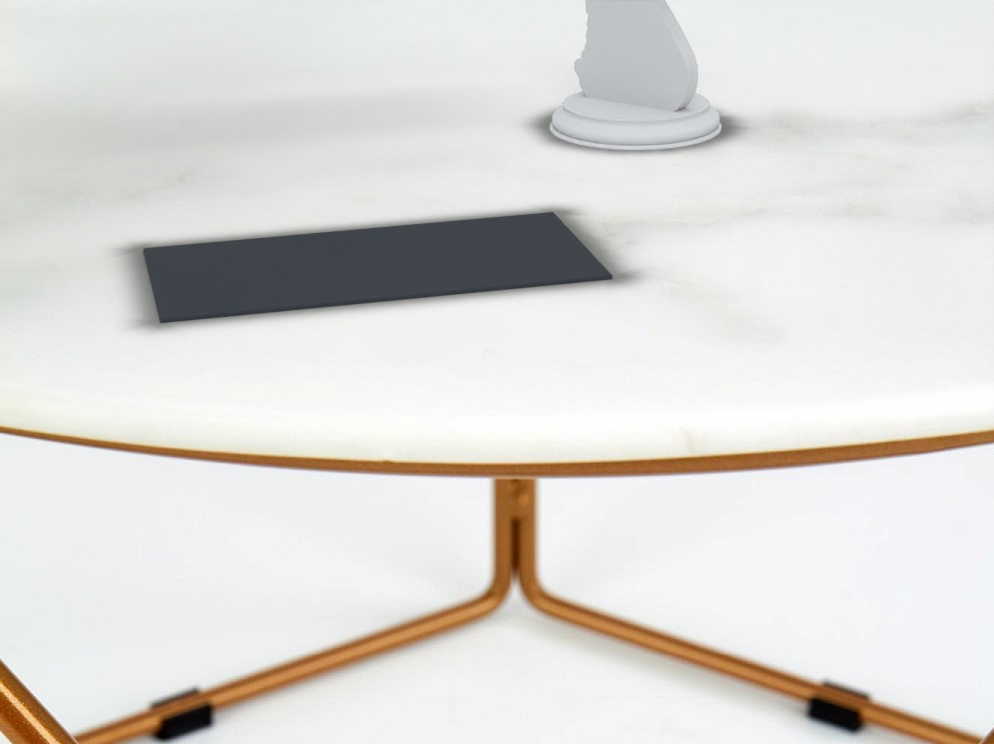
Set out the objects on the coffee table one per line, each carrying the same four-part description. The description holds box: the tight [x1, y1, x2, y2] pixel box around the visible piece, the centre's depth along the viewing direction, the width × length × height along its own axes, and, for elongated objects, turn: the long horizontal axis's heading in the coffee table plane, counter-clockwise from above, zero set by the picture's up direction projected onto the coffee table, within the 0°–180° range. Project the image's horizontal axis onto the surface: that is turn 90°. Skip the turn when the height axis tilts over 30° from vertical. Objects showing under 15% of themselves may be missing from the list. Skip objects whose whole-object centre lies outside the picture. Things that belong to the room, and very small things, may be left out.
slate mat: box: [143, 211, 613, 324], centre depth 79 cm, size 20×10×1 cm, turn 104°
